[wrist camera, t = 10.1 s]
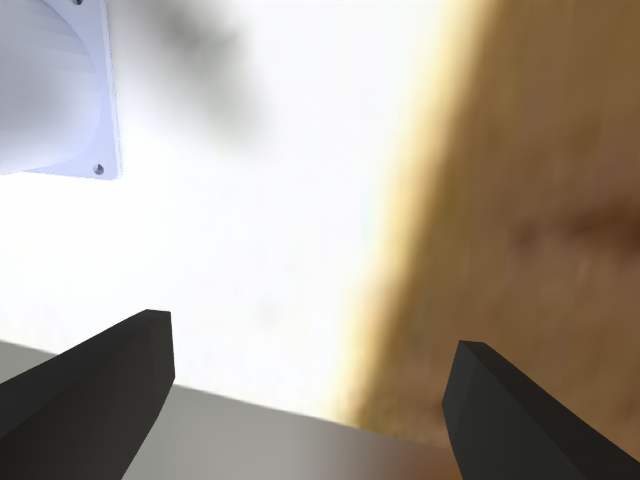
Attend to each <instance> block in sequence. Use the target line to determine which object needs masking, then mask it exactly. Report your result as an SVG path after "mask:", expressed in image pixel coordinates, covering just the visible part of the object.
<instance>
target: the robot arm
mask: <svg viewBox="0 0 640 480" xmlns="http://www.w3.org/2000/svg"><path fill="white" fill-rule="evenodd" d="M98 165H101V166H102V167H103V169H104V172H103V173H101V172H100V171H99V169H98ZM16 172H31V173H41V174H50V175H60V176H70V177H79V178H89V179H99V180H109V181H112V180H117V179H119V178H120V177H121V176H122V175H123V165H122V155H121V146H120V136H119V126H118V116H117V107H116V97H115V87H114V78H113V68H112V58H111V49H110V39H109V29H108V19H107V10H106V2H105V0H83V1H82V3H81V5H78V3H77V0H0V176H2V175H6V174H11V173H16ZM174 379H175V367H174V353H173V339H172V325H171V312H169V311H159V310H149V309H146V310H144V311H141V312H139V313H137V314H135V315H133V316H131V317H129V318H127V319H125V320H123V321H121V322H120V323H118V324H116V325H114V326H112V327H110V328H108V329H106V330H105V331H103V332H101V333H99V334H97V335H95V336H93V337H92V338H90V339H88V340H86V341H84V342H82V343H80V344H78V345H77V346H75V347H73V348H71V349H69V350H67V351H65V352H63V353H62V354H60V355H58V356H56V357H54V358H52V359H50V360H48V361H46V362H44V363H42V364H40V365H38V366H36V367H33V368H32V369H29V370H27V371H25V372H23V373H21V374H19V375H17V376H16V377H13V378H11V379H9V380H7V381H5V382H3V383H1V384H0V480H121V479H122V477H123V475H124V474H125V472H126V470H127V469H128V467H129V465H130V464H131V462H132V460H133V458H134V457H135V455H136V454H137V452H138V450H139V448H140V447H141V445H142V443H143V442H144V440H145V438H146V437H147V435H148V433H149V431H150V429H151V428H152V426H153V424H154V423H155V421H156V419H157V417H158V416H159V413H160V411H161V409H162V407H163V404H164V402H165V400H166V398H167V395H168V393H169V391H170V388H171V386H172V384H173V381H174ZM442 407H443V412H444V417H445V421H446V426H447V430H448V434H449V438H450V442H451V446H452V449H453V452H454V455H455V458H456V461H457V464H458V467H459V469H460V472H461V475H462V478H463V480H640V462H638V461H637V460H635V459H634V458H633V457H631V456H630V455H628V454H627V453H626V452H624V451H623V450H622V449H620V448H619V447H618V446H616V445H615V444H613V443H612V442H611V441H609V440H608V439H607V438H605V437H604V436H603V435H601V434H600V433H599V432H597V431H596V430H594V429H593V428H592V427H590V426H589V425H588V424H587V423H585V422H584V421H583V420H581V419H580V418H579V417H577V416H576V415H575V414H574V413H572V412H571V411H570V410H568V409H567V408H566V407H565V406H563V405H562V404H561V403H560V402H558V401H557V400H556V399H555V398H553V397H552V396H551V395H550V394H548V393H547V392H546V391H545V390H543V389H542V388H541V387H540V386H538V385H537V384H536V383H535V382H534V381H532V380H531V379H530V378H529V377H527V376H526V375H525V374H524V373H522V372H521V371H520V370H519V369H518V368H516V367H515V366H514V365H513V364H511V363H510V362H509V361H508V360H506V359H505V358H504V357H503V356H501V355H500V354H499V353H498V352H496V351H495V350H494V349H492V348H491V347H490V346H488V345H487V344H485V343H483V342H473V341H462V340H459V343H458V347H457V350H456V354H455V358H454V361H453V365H452V369H451V372H450V376H449V380H448V383H447V387H446V390H445V394H444V398H443V401H442Z"/></svg>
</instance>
